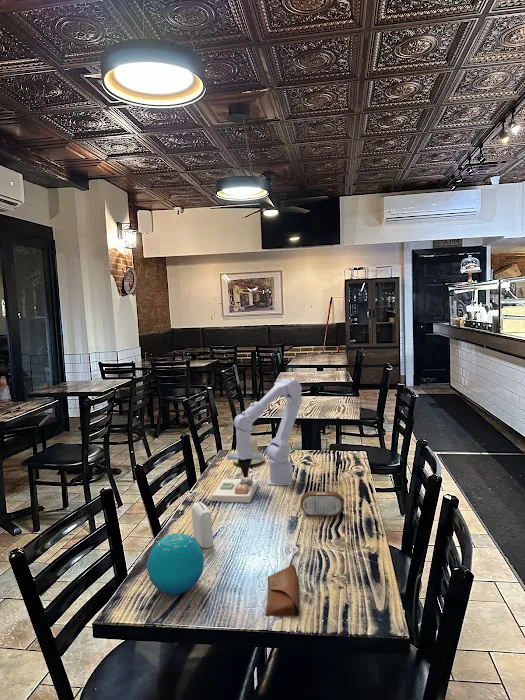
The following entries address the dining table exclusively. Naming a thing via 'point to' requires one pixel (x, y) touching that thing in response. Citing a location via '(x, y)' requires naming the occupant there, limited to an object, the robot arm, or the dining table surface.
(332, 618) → the dining table surface
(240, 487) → the key two
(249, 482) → the key one
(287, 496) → the dining table surface
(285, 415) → the robot arm
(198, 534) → the photo printer
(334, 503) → the tin
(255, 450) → the handbell
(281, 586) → the sunglasses case
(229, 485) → the key three
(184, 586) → the decorative orb
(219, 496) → the key panel
